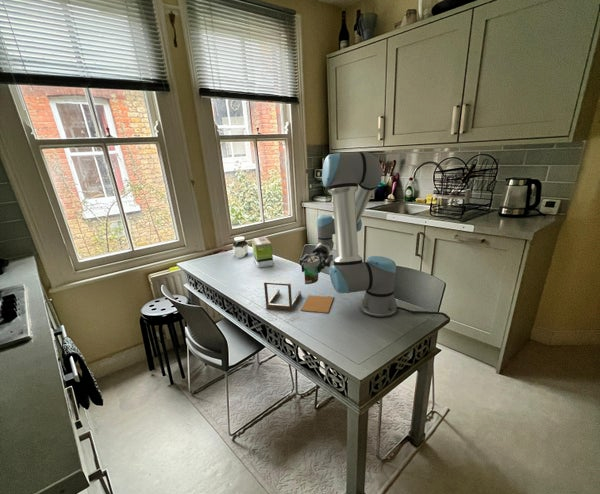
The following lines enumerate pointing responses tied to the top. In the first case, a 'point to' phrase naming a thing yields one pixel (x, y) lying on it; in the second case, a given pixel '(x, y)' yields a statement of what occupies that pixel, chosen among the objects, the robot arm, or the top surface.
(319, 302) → the cork mat
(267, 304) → the rack
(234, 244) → the spread jar
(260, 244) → the tea box
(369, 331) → the top surface
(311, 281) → the food container
